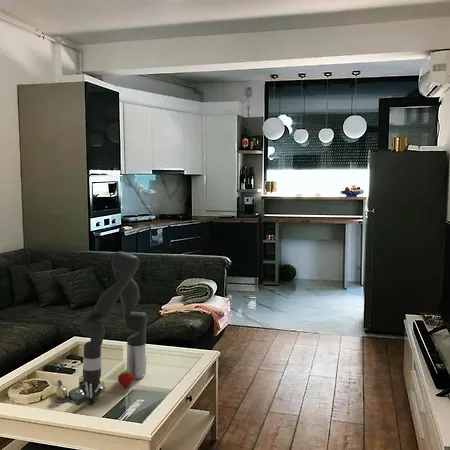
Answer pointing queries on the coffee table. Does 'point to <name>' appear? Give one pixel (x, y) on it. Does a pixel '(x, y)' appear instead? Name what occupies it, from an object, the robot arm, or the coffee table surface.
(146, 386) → the coffee table surface
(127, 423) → the coffee table surface
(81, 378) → the footscrew back
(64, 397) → the foot screw
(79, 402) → the foot screw
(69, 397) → the levelling base
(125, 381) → the strawberry
